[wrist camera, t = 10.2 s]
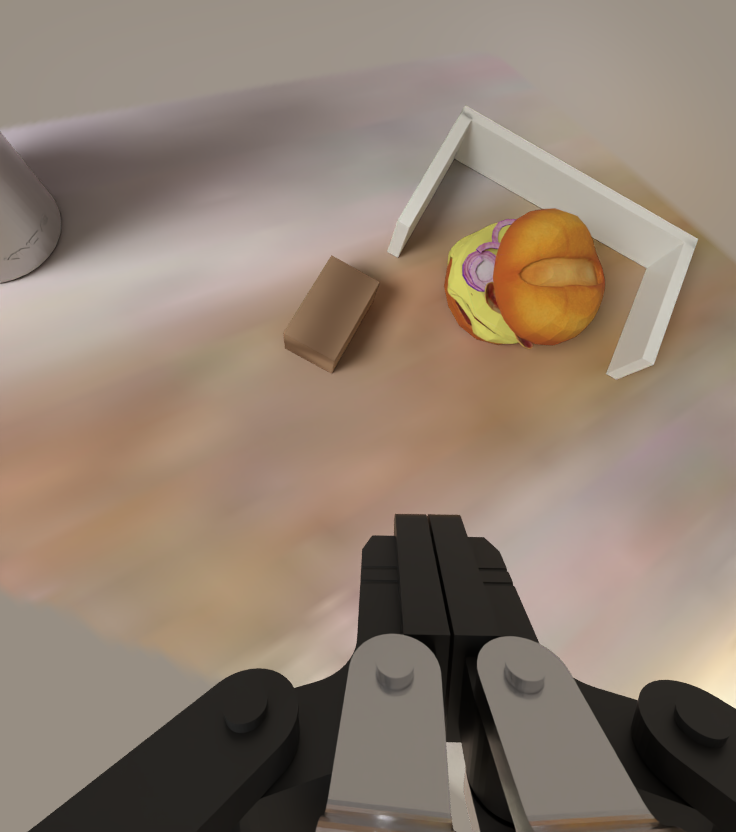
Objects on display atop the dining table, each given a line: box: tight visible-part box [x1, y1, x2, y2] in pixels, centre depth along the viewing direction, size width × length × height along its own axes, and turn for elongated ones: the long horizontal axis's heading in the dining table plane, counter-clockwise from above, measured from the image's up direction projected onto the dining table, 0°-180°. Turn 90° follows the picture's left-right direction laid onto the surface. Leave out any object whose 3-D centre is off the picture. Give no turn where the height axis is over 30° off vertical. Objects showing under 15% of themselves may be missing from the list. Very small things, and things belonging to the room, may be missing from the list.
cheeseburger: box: [444, 208, 605, 349], centre depth 33 cm, size 10×11×10 cm
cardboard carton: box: [283, 255, 380, 374], centre depth 32 cm, size 4×7×3 cm, turn 153°
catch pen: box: [387, 105, 698, 379], centre depth 36 cm, size 22×12×4 cm, turn 63°
